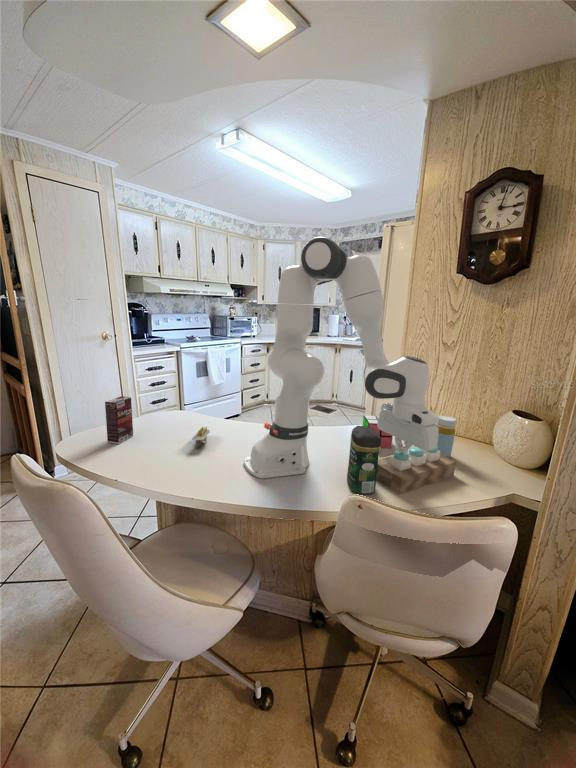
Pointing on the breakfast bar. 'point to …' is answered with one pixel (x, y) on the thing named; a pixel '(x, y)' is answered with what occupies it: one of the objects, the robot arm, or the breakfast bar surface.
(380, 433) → the puzzle cube
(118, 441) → the supplement box
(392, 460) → the button near
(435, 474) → the button board
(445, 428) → the bottle
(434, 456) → the button far
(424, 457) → the button mid
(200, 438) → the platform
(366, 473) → the coffee jar
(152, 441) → the breakfast bar surface
